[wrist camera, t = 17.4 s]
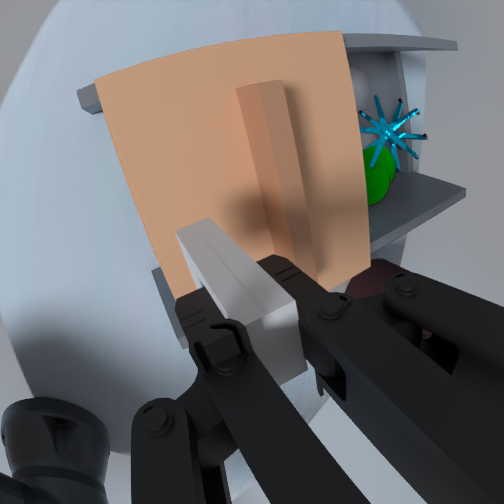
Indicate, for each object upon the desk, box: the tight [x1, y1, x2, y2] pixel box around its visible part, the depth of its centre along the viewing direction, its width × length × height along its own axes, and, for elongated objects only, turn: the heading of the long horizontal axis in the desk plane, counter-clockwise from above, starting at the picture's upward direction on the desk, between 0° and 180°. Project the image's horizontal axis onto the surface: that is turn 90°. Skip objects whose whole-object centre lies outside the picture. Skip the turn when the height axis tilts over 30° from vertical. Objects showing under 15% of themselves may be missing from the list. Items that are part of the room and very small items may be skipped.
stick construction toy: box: [359, 95, 428, 206], centre depth 30 cm, size 12×7×8 cm, turn 161°
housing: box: [77, 34, 466, 349], centre depth 25 cm, size 32×17×10 cm, turn 104°
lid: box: [94, 31, 371, 300], centre depth 17 cm, size 14×17×4 cm
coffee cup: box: [328, 255, 432, 335], centre depth 34 cm, size 10×10×15 cm
